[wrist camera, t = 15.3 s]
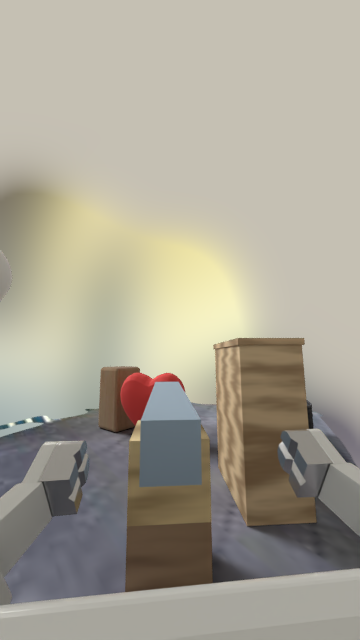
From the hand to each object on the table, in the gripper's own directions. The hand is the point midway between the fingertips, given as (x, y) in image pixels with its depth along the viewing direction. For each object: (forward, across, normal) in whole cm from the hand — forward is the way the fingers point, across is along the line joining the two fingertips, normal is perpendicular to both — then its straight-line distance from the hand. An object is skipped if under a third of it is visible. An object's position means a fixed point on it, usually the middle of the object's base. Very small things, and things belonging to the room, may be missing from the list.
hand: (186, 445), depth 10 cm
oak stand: (+20, +16, -35) cm, 43 cm away
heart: (+44, -4, -48) cm, 65 cm away
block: (+56, -15, -56) cm, 80 cm away
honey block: (+10, 0, -20) cm, 22 cm away
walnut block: (+6, 0, -26) cm, 27 cm away
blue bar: (+14, 0, -14) cm, 20 cm away
